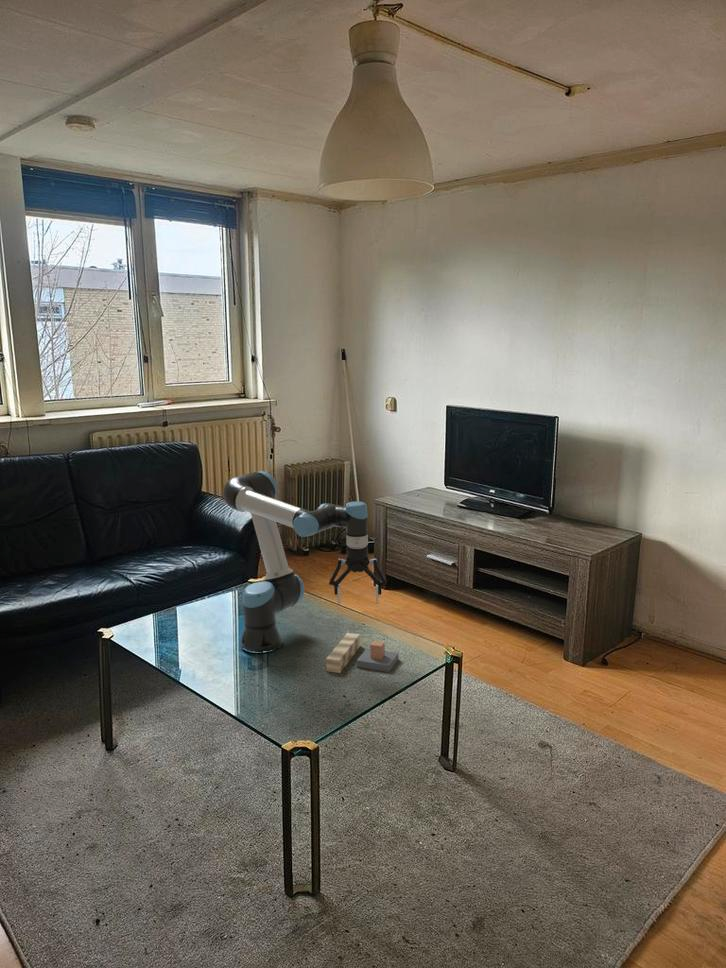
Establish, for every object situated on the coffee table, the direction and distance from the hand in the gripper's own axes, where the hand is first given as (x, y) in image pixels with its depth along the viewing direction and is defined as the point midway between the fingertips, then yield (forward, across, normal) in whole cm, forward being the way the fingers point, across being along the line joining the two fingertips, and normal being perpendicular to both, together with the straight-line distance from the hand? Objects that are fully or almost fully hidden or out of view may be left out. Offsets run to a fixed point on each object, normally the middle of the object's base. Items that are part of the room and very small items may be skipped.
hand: (358, 603), depth 245 cm
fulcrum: (+20, +7, -7) cm, 22 cm away
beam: (+20, -5, -3) cm, 21 cm away
